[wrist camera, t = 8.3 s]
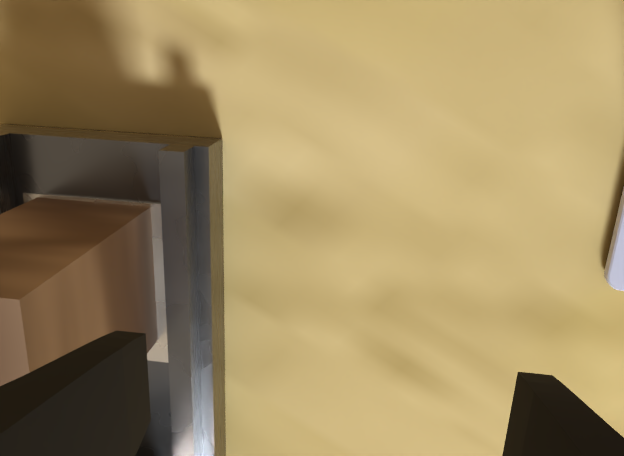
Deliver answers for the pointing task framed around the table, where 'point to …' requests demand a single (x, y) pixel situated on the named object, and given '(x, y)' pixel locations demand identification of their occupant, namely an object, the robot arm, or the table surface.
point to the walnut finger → (72, 279)
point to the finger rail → (166, 253)
